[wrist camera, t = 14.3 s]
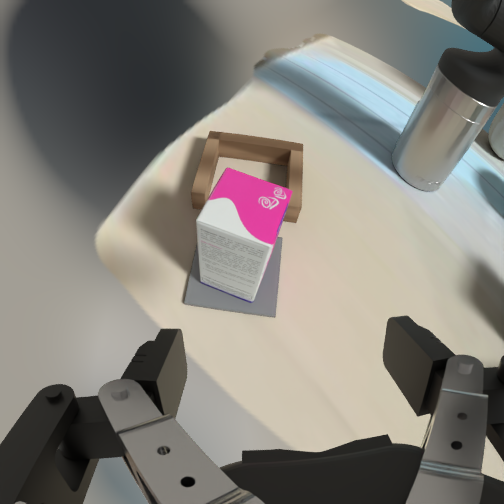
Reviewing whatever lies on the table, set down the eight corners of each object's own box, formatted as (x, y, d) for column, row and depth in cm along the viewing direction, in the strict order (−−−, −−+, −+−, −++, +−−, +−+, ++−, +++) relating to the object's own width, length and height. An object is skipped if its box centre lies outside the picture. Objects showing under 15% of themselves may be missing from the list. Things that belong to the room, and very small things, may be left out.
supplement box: (254, 305, 32) (270, 249, 22) (199, 283, 32) (189, 219, 22) (273, 257, 35) (294, 188, 24) (221, 237, 35) (222, 163, 25)
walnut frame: (210, 147, 42) (209, 130, 39) (298, 160, 42) (303, 144, 40) (192, 208, 37) (191, 191, 34) (295, 222, 37) (301, 207, 35)
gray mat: (201, 227, 36) (201, 226, 36) (281, 239, 36) (282, 237, 36) (184, 304, 32) (184, 302, 31) (274, 317, 32) (275, 316, 31)
